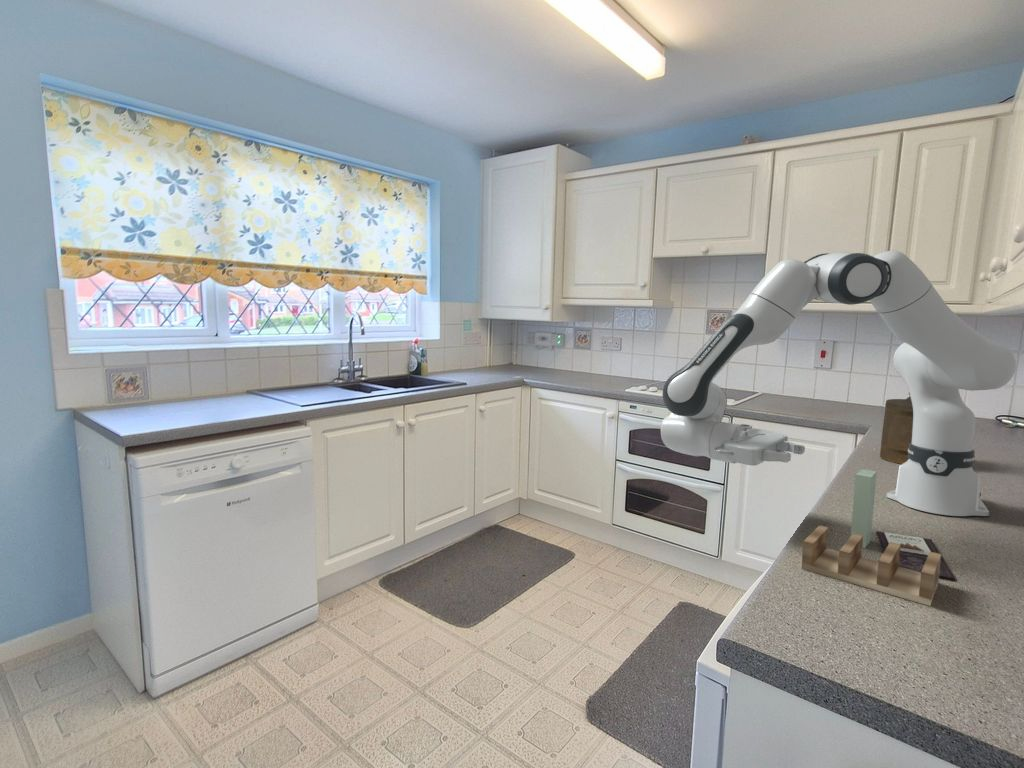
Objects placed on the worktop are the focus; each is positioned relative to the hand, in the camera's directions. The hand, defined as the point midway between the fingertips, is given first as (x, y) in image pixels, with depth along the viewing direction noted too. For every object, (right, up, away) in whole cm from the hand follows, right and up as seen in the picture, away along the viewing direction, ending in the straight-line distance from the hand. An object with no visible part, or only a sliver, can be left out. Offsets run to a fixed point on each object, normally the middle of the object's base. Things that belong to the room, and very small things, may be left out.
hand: (797, 454), depth 112 cm
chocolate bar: (+15, -18, -12) cm, 26 cm away
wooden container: (+63, -9, +55) cm, 84 cm away
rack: (+2, -18, -20) cm, 27 cm away
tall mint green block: (+9, -17, -6) cm, 20 cm away
